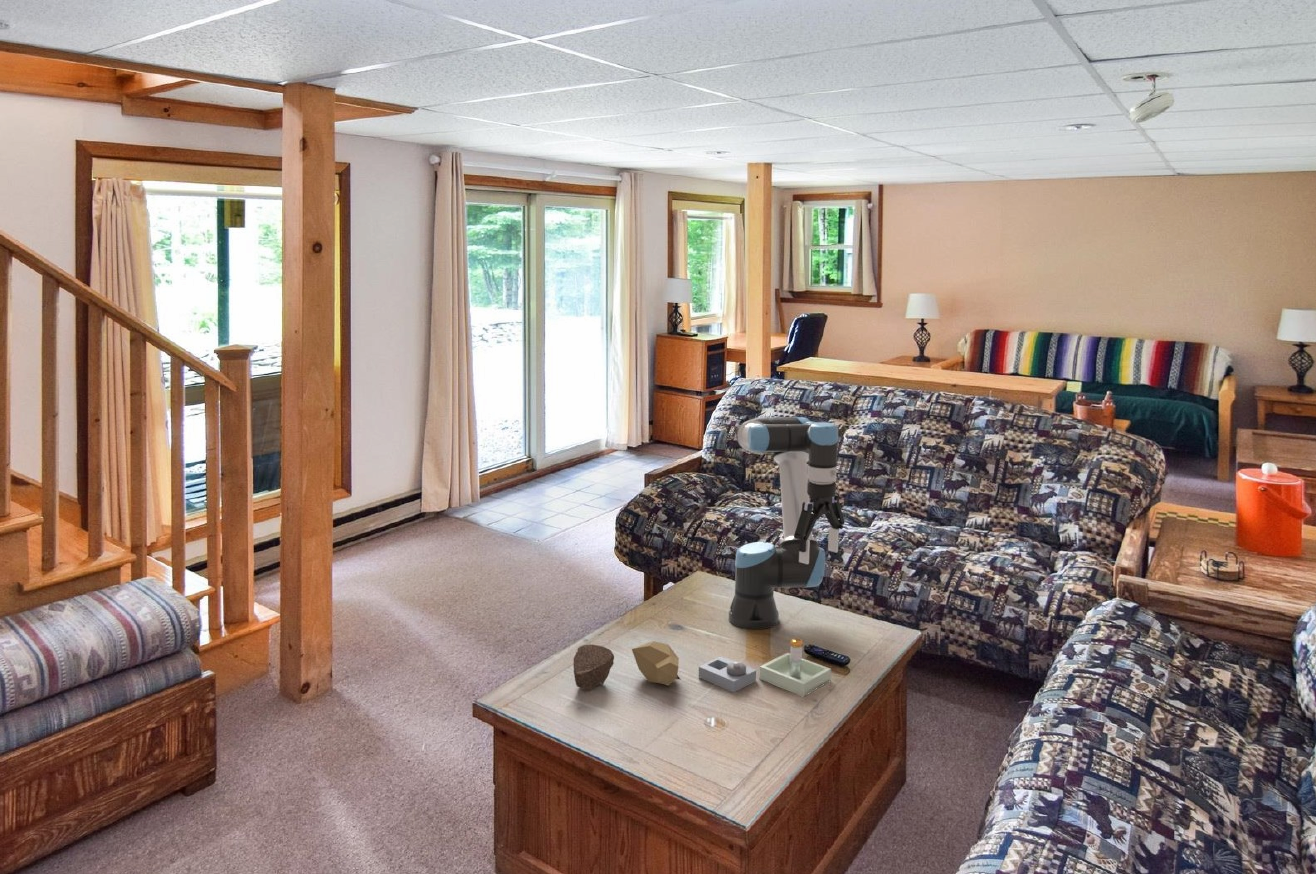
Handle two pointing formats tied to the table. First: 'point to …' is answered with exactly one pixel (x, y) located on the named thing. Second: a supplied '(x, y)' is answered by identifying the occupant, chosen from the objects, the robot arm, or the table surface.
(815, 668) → the tray
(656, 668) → the low-poly potato
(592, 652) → the rock
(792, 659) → the lock pin
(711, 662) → the block
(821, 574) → the robot arm
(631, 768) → the table surface
